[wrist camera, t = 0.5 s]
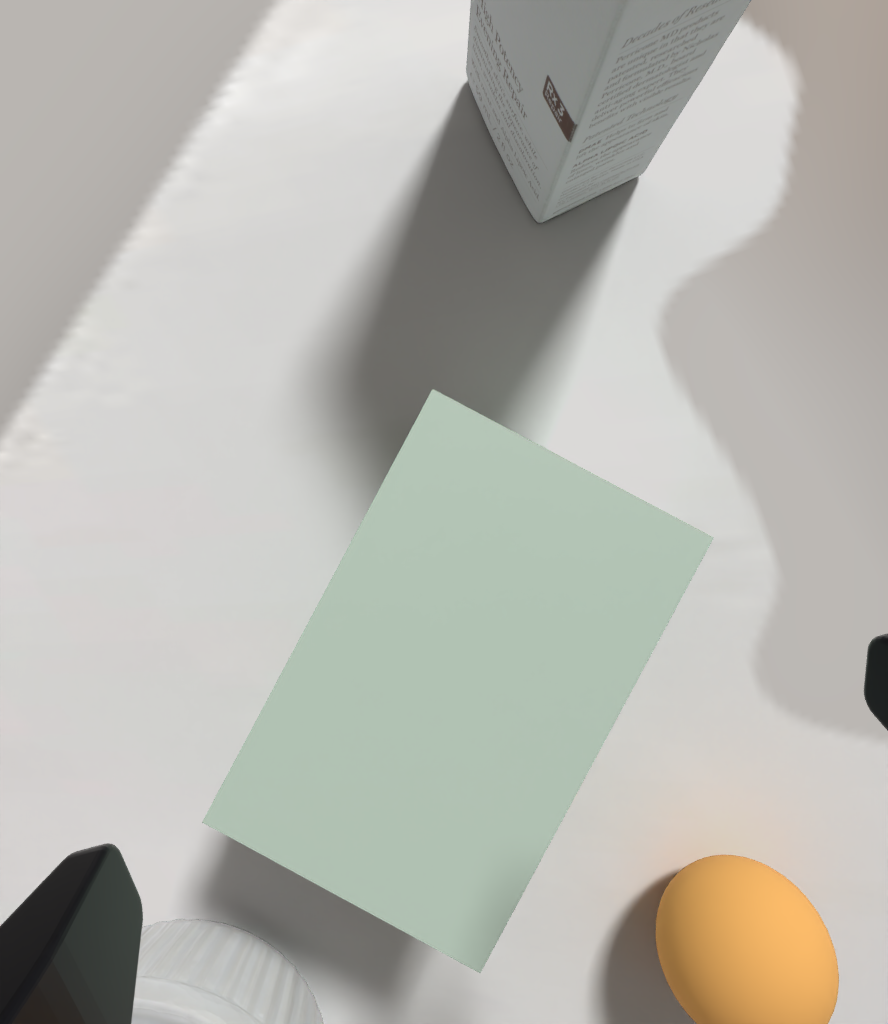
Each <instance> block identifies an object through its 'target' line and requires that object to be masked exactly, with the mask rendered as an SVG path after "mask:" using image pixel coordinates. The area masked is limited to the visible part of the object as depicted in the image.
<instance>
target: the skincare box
mask: <svg viewBox="0 0 888 1024" xmlns="http://www.w3.org/2000/svg"><path fill="white" fill-rule="evenodd" d="M750 1H751V0H471V8H470V22H469V37H468V52H467V65H466V73H467V77H468V82H469V85H470V88H471V90H472V93H473V95H474V98H475V100H476V103H477V105H478V107H479V110H480V112H481V114H482V117H483V119H484V121H485V123H486V126H487V128H488V130H489V132H490V134H491V137H492V139H493V141H494V143H495V145H496V147H497V149H498V151H499V153H500V155H501V157H502V159H503V162H504V164H505V166H506V168H507V170H508V172H509V174H510V175H511V177H512V179H513V181H514V183H515V185H516V187H517V189H518V191H519V193H520V195H521V197H522V199H523V201H524V203H525V204H526V206H527V208H528V210H529V211H530V213H531V215H532V216H533V218H534V219H535V220H536V221H537V222H538V223H542V222H545V221H547V220H549V219H551V218H553V217H555V216H557V215H559V214H562V213H564V212H566V211H568V210H570V209H572V208H575V207H577V206H578V205H581V204H583V203H584V202H586V201H589V200H591V199H593V198H594V197H597V196H599V195H601V194H603V193H605V192H607V191H609V190H611V189H613V188H615V187H617V186H619V185H621V184H623V183H625V182H627V181H629V180H631V179H633V178H636V177H638V176H640V175H641V174H643V173H644V171H645V170H646V168H647V167H648V165H649V163H650V162H651V160H652V159H653V157H654V155H655V153H656V152H657V150H658V148H659V147H660V145H661V144H662V142H663V141H664V139H665V137H666V136H667V134H668V132H669V131H670V129H671V127H672V126H673V124H674V123H675V121H676V120H677V118H678V116H679V115H680V113H681V112H682V110H683V109H684V107H685V105H686V104H687V102H688V101H689V99H690V98H691V96H692V94H693V93H694V91H695V90H696V88H697V87H698V85H699V84H700V82H701V80H702V79H703V77H704V75H705V74H706V72H707V71H708V69H709V67H710V66H711V64H712V63H713V61H714V59H715V58H716V56H717V54H718V52H719V51H720V49H721V48H722V46H723V44H724V43H725V41H726V40H727V38H728V37H729V35H730V33H731V32H732V30H733V29H734V27H735V25H736V24H737V22H738V21H739V19H740V17H741V16H742V14H743V13H744V11H745V10H746V8H747V6H748V5H749V3H750Z"/></svg>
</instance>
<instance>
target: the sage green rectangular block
mask: <svg viewBox="0 0 888 1024" xmlns="http://www.w3.org/2000/svg"><path fill="white" fill-rule="evenodd" d="M712 540H713V537H711V536H710V535H708V534H706V533H704V532H702V531H700V530H698V529H696V528H694V527H693V526H691V525H689V524H687V523H685V522H683V521H681V520H679V519H677V518H676V517H674V516H672V515H670V514H668V513H666V512H664V511H662V510H660V509H659V508H657V507H655V506H653V505H651V504H649V503H647V502H645V501H643V500H642V499H640V498H638V497H636V496H634V495H632V494H630V493H628V492H627V491H625V490H623V489H621V488H619V487H617V486H615V485H613V484H611V483H610V482H608V481H606V480H604V479H602V478H600V477H598V476H596V475H594V474H593V473H591V472H589V471H587V470H585V469H583V468H581V467H579V466H577V465H576V464H574V463H572V462H570V461H568V460H566V459H564V458H562V457H560V456H559V455H557V454H555V453H553V452H551V451H549V450H547V449H545V448H543V447H542V446H540V445H538V444H536V443H534V442H532V441H530V440H528V439H526V438H525V437H523V436H521V435H519V434H517V433H515V432H513V431H511V430H510V429H508V428H506V427H504V426H502V425H500V424H498V423H496V422H494V421H493V420H491V419H489V418H487V417H485V416H483V415H481V414H479V413H477V412H476V411H474V410H472V409H470V408H468V407H466V406H464V405H462V404H460V403H459V402H457V401H455V400H453V399H451V398H449V397H447V396H445V395H443V394H442V393H440V392H438V391H436V390H434V389H432V391H431V393H430V395H429V397H428V398H427V400H426V402H425V404H424V406H423V408H422V410H421V412H420V413H419V415H418V417H417V419H416V421H415V423H414V425H413V427H412V428H411V430H410V432H409V434H408V436H407V438H406V440H405V442H404V444H403V445H402V447H401V449H400V451H399V453H398V455H397V457H396V459H395V460H394V462H393V464H392V466H391V468H390V470H389V472H388V474H387V476H386V477H385V479H384V481H383V483H382V485H381V487H380V489H379V491H378V492H377V494H376V496H375V498H374V500H373V502H372V504H371V506H370V508H369V509H368V511H367V513H366V515H365V517H364V519H363V521H362V523H361V524H360V526H359V528H358V530H357V532H356V534H355V536H354V538H353V539H352V541H351V543H350V545H349V547H348V549H347V551H346V553H345V555H344V556H343V558H342V560H341V562H340V564H339V566H338V568H337V570H336V571H335V573H334V575H333V577H332V579H331V581H330V583H329V585H328V587H327V588H326V590H325V592H324V594H323V596H322V598H321V600H320V602H319V603H318V605H317V607H316V609H315V611H314V613H313V615H312V617H311V619H310V620H309V622H308V624H307V626H306V628H305V630H304V632H303V634H302V635H301V637H300V639H299V641H298V643H297V645H296V647H295V649H294V651H293V652H292V654H291V656H290V658H289V660H288V662H287V664H286V666H285V667H284V669H283V671H282V673H281V675H280V677H279V679H278V681H277V682H276V684H275V686H274V688H273V690H272V692H271V694H270V696H269V698H268V699H267V701H266V703H265V705H264V707H263V709H262V711H261V713H260V714H259V716H258V718H257V720H256V722H255V724H254V726H253V728H252V730H251V731H250V733H249V735H248V737H247V739H246V741H245V743H244V745H243V746H242V748H241V750H240V752H239V754H238V756H237V758H236V760H235V762H234V763H233V765H232V767H231V769H230V771H229V773H228V775H227V777H226V778H225V780H224V782H223V784H222V786H221V788H220V790H219V792H218V793H217V795H216V797H215V799H214V801H213V803H212V805H211V807H210V809H209V810H208V812H207V814H206V816H205V818H204V820H203V822H202V823H204V824H206V825H208V826H210V827H212V828H213V829H215V830H217V831H219V832H221V833H223V834H225V835H226V836H228V837H230V838H232V839H234V840H236V841H237V842H239V843H241V844H243V845H245V846H247V847H248V848H250V849H252V850H254V851H256V852H258V853H259V854H261V855H263V856H265V857H267V858H269V859H271V860H272V861H274V862H276V863H278V864H280V865H282V866H283V867H285V868H287V869H289V870H291V871H293V872H294V873H296V874H298V875H300V876H302V877H304V878H306V879H307V880H309V881H311V882H313V883H315V884H317V885H318V886H320V887H322V888H324V889H326V890H328V891H329V892H331V893H333V894H335V895H337V896H339V897H341V898H342V899H344V900H346V901H348V902H350V903H352V904H353V905H355V906H357V907H359V908H361V909H363V910H364V911H366V912H368V913H370V914H372V915H374V916H375V917H377V918H379V919H381V920H383V921H385V922H387V923H388V924H390V925H392V926H394V927H396V928H398V929H399V930H401V931H403V932H405V933H407V934H409V935H410V936H412V937H414V938H416V939H418V940H420V941H422V942H423V943H425V944H427V945H429V946H431V947H433V948H434V949H436V950H438V951H440V952H442V953H444V954H445V955H447V956H449V957H451V958H453V959H455V960H456V961H458V962H460V963H462V964H464V965H466V966H468V967H469V968H471V969H473V970H475V971H477V972H479V973H481V971H482V969H483V967H484V965H485V963H486V961H487V960H488V958H489V956H490V954H491V952H492V950H493V948H494V947H495V945H496V943H497V941H498V939H499V937H500V935H501V933H502V932H503V930H504V928H505V926H506V924H507V922H508V920H509V919H510V917H511V915H512V913H513V911H514V909H515V907H516V906H517V904H518V902H519V900H520V898H521V896H522V894H523V892H524V891H525V889H526V887H527V885H528V883H529V881H530V879H531V878H532V876H533V874H534V872H535V870H536V868H537V866H538V865H539V863H540V861H541V859H542V857H543V855H544V853H545V851H546V850H547V848H548V846H549V844H550V842H551V840H552V838H553V837H554V835H555V833H556V831H557V829H558V827H559V825H560V823H561V822H562V820H563V818H564V816H565V814H566V812H567V810H568V809H569V807H570V805H571V803H572V801H573V799H574V797H575V796H576V794H577V792H578V790H579V788H580V786H581V784H582V782H583V781H584V779H585V777H586V775H587V773H588V771H589V769H590V768H591V766H592V764H593V762H594V760H595V758H596V756H597V755H598V753H599V751H600V749H601V747H602V745H603V743H604V741H605V740H606V738H607V736H608V734H609V732H610V730H611V728H612V727H613V725H614V723H615V721H616V719H617V717H618V715H619V713H620V712H621V710H622V708H623V706H624V704H625V702H626V700H627V699H628V697H629V695H630V693H631V691H632V689H633V687H634V686H635V684H636V682H637V680H638V678H639V676H640V674H641V672H642V671H643V669H644V667H645V665H646V663H647V661H648V659H649V658H650V656H651V654H652V652H653V650H654V648H655V646H656V645H657V643H658V641H659V639H660V637H661V635H662V633H663V631H664V630H665V628H666V626H667V624H668V622H669V620H670V618H671V617H672V615H673V613H674V611H675V609H676V607H677V605H678V603H679V602H680V600H681V598H682V596H683V594H684V592H685V590H686V589H687V587H688V585H689V583H690V581H691V579H692V577H693V576H694V574H695V572H696V570H697V568H698V566H699V564H700V562H701V561H702V559H703V557H704V555H705V553H706V551H707V549H708V548H709V546H710V544H711V542H712Z"/></svg>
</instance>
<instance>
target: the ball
mask: <svg viewBox="0 0 888 1024" xmlns="http://www.w3.org/2000/svg"><path fill="white" fill-rule="evenodd" d="M656 945H657V951H658V956H659V960H660V964H661V967H662V970H663V972H664V975H665V978H666V980H667V983H668V984H669V986H670V988H671V990H672V992H673V994H674V995H675V997H676V999H677V1000H678V1002H679V1003H680V1005H681V1006H682V1007H683V1009H684V1010H685V1011H686V1012H687V1014H688V1015H689V1016H690V1017H691V1018H692V1019H693V1020H694V1021H695V1022H696V1023H697V1024H828V1022H829V1020H830V1018H831V1016H832V1014H833V1012H834V1008H835V1005H836V1001H837V995H838V986H839V974H838V965H837V958H836V954H835V950H834V947H833V944H832V941H831V938H830V936H829V933H828V930H827V928H826V927H825V925H824V923H823V921H822V919H821V917H820V915H819V914H818V912H817V911H816V909H815V908H814V906H813V905H812V904H811V902H810V901H809V900H808V899H807V897H806V896H805V895H804V894H803V893H802V892H801V891H800V890H799V889H798V888H797V887H796V886H795V885H794V884H793V883H792V882H791V881H789V880H788V879H787V878H786V877H785V876H783V875H782V874H780V873H778V872H777V871H775V870H774V869H772V868H770V867H769V866H767V865H764V864H762V863H760V862H758V861H755V860H752V859H749V858H746V857H740V856H734V855H715V856H710V857H705V858H702V859H700V860H697V861H695V862H693V863H691V864H689V865H688V866H686V867H685V868H683V869H682V870H681V871H680V872H679V873H678V874H677V875H675V877H674V878H673V879H672V880H671V881H670V883H669V884H668V886H667V888H666V889H665V891H664V893H663V896H662V898H661V901H660V904H659V908H658V911H657V917H656Z"/></svg>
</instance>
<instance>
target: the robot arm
mask: <svg viewBox="0 0 888 1024" xmlns="http://www.w3.org/2000/svg"><path fill="white" fill-rule="evenodd" d="M864 696H865V700H866V702H867V705H868V707H869V709H870V710H871V712H872V713H873V714H874V716H875V717H876V718H877V719H878V720H879V721H880V722H881V723H882V725H883V726H884V727H885V728H886V729H887V730H888V634H884V635H881V636H878V637H876V638H874V639H873V640H872V641H871V642H870V644H869V646H868V652H867V663H866V674H865V684H864ZM142 922H143V912H142V904H141V899H140V896H139V894H138V891H137V889H136V887H135V884H134V882H133V880H132V878H131V875H130V873H129V871H128V868H127V866H126V864H125V862H124V859H123V857H122V855H121V853H120V851H119V849H118V848H117V847H116V846H115V845H113V844H103V845H99V846H95V847H91V848H88V849H84V850H80V851H77V852H74V853H72V854H70V855H69V856H67V857H66V858H65V859H64V860H63V861H62V862H61V863H60V864H59V865H58V866H57V867H56V868H55V869H54V870H53V872H52V873H51V874H50V875H49V876H48V877H47V878H46V879H45V880H44V881H43V882H42V883H41V884H40V885H39V886H38V887H37V888H36V889H35V890H34V891H33V892H32V894H31V895H30V896H29V897H28V898H27V899H26V900H25V901H24V902H23V903H22V904H21V905H20V906H19V907H18V908H17V909H16V910H15V911H14V912H13V913H12V914H11V915H10V917H9V918H8V919H7V920H6V921H5V922H4V923H3V924H2V925H1V926H0V1024H131V1022H132V1013H133V1004H134V995H135V986H136V977H137V968H138V959H139V950H140V941H141V932H142Z"/></svg>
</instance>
